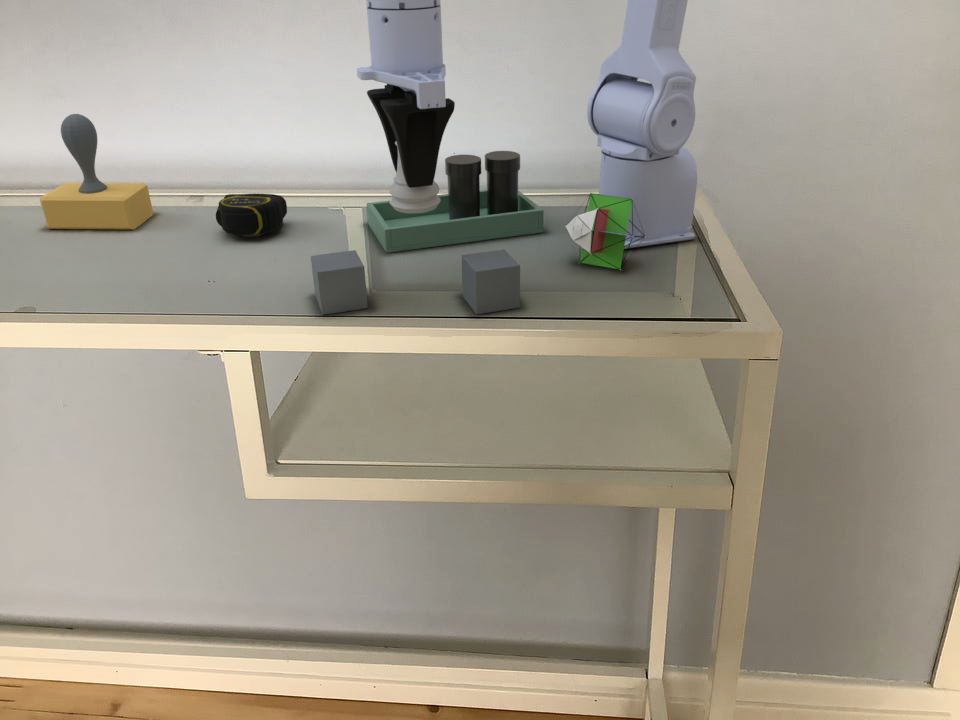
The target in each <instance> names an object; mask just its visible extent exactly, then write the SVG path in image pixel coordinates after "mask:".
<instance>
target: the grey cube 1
mask: <svg viewBox="0 0 960 720" xmlns="http://www.w3.org/2000/svg"><path fill="white" fill-rule="evenodd" d="M310 263H311V272H312V278H313V284H314V285H313V287H314V295H315V299H316V302H317V305H318V307H319V310H320V313H321V315H322V316H324V315H333V314H338V313H345V312H352V311H357V310H366V309H368V308H369V305H368V304H369V303H368V294H367V284H366V282H367V281H366V271H365V265H364V263H363V262H362V259H361V258H360V256H359V254H358V252H357V251H356V249H353V250H352V249H351V250H346V251H338V252H331V253H322V254H315V255H310Z"/></svg>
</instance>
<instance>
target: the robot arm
mask: <svg viewBox="0 0 960 720" xmlns="http://www.w3.org/2000/svg"><path fill="white" fill-rule="evenodd" d="M688 1H689V0H627V2H626V9H625V15H624V22H623V29H622V35H621V43H620V45H619V46H618V47H617V48H616V49H615V50H613V52H612V53H611V54H609V55H608V56H607V58H605V59H604V61H602V62H601V65H600V69H599V70H600V71H599V77H598V79H597V82H596V85H595V86H594V88H593V90H592V92H591V95H590V97H589V98H588V104H587V110H586V112H587V114H586V117H587V122H588V125H589V127H590V129H591V131H592V132H593V133H594V134H595V135H596V136H597V142H596V143H597V146H598V147H600V148H601V150H600V167H599V182H598V184H599V185H598V194H600V195H608V196H615V197H623V198H630V199H631V198H633V201H632V203H631V209H630V215H629V220H630V221H631V222H632V206H633V224H634V225H635V226H636V227H637V228H638V229H639V230H640V231H641V232H642V233H643V232H644V233H643V234H644V235H645V236H646V237H644V239H643V238H642V237H633V238H630V237H632V236H626V239H627V238H629V239H627V240H625V244H624V246H625V247H624V250H627V249H628V247H629V249H633V248H641V247H648V246H655V245H661V244H662V245H663V244H668V243H676V242H684V241H690V240H691V241H692V240H694V239H695V237H696V234H695V233H693V232H692V230H693V222H694V221H693V220H694V211H695V204H696V203H695V202H696V196H697V195H696V194H697V187H698V186H697V185H698V169H697V165H696V163H697V162H696V160H695V158H694V156H693V154H692V153H691V151H690V150H689V149H688V148H686V147H684V146H685V144H686V143H687V141H688V140H689V138H690V137H691V134H692V132H693V129H694V127H695V122H696V106H695V105H696V104H695V97H694V96H695V95H694V94H695V86H696V81H697V77H696V74H695V72H694V71H693V69H692V68H691V67H690V65H689V64H688V63H687V62H686V60H685V59H684V57H683V55H682V54H681V53H680V49H679V48H680V45H681V39H682V32H683V27H684V22H685V17H686V11H687V6H688ZM365 3H366V4H365V5H366V12H367V26H368V27H367V28H368V39H369V53H370V66H362V67H357V68H356V76H357V78H358V79H359V80H361V81H375V82H378V83H382V84H384V87H383V88H373V89H369V90H367V91H366V95H367V97H368V98H369V100H370V102H371V104H372V105H373V108H374V109H375V111H376V114H377V116H378V119H379V120H380V121H379V122H380V123H381V126H382V129H383V132H384V135H385V139H386V142H387V147H388V151H389V155H390V159H391V162H392V166H393V169H394V171H395V174H396V173H397V163H398V149H399V154H400V160H401V165H402V170H403V174H404V177H405V180H406V183H407V186H408V187H409V188H413V187H422V186H430V185H433V181H435V177H436V171H437V166H438V159H439V153H440V148H441V144H442V140H443V136H444V133H445V130H446V128H447V126H448V123H449V121H450V119H451V117H452V116H453V114H454V111H455V106H456V104H455V103H456V102H455V101H454V100H453V99H451V98H449V97H447V98H446V80H445V78H446V76H447V73H446V64H445V63H444V57H443V54H444V53H443V31H442V28H443V27H442V9H441V7H442V6H441V0H365ZM639 79H642V80H646V81H648V82H645V81H642V80H641V81H640V80H639ZM396 141H397V145H398V148H397V146H396V144H395V142H396ZM633 203H634V204H633ZM635 208H636V209H635ZM636 211H637V212H636ZM637 214H638V215H637ZM638 217H639V218H638ZM639 220H640V221H639ZM630 221H628V227H627V232H629V233H630V234H632V223H631V222H630ZM640 223H641V224H640ZM634 225H633V235H638V236H644V235H643V234H642V233H641V232H640V231H639V230H638V229H637V228H636V227H635V226H634ZM641 226H642V227H641ZM690 226H692V228H690V229H687V228H689V227H690ZM642 229H643V230H642ZM629 233H626V234H629ZM640 238H642V239H640ZM631 239H632V241H631ZM638 239H640V240H638ZM636 240H638V241H636ZM634 241H636V242H634ZM630 242H631V243H632V242H634V243H632V244H630ZM640 242H641V243H640ZM628 244H630V246H629V245H628ZM626 245H627V246H626ZM637 246H638V247H637Z"/></svg>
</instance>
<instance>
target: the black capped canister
mask: <svg viewBox="0 0 960 720" xmlns="http://www.w3.org/2000/svg"><path fill="white" fill-rule="evenodd" d="M484 170H485V171H486V189H487V215H493V214H501V213H509V212H518V190H519V171H520V170H521V154H520V153H518V152H516V151H512V150H494V151H490V152H487V153H485V154H484Z"/></svg>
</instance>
